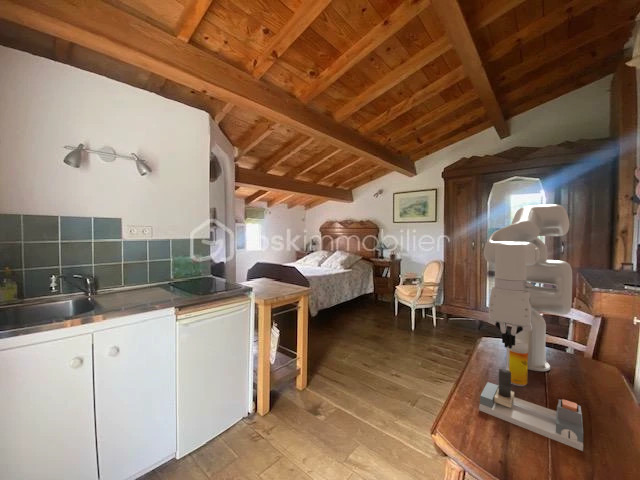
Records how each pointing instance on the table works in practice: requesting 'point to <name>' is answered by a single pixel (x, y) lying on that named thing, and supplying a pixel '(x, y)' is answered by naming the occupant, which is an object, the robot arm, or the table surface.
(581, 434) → the rail base
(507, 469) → the table surface
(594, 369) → the table surface
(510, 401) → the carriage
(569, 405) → the button
